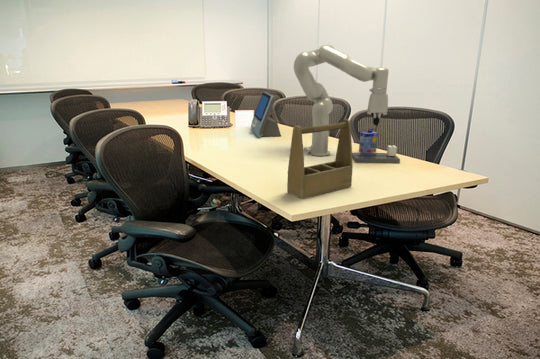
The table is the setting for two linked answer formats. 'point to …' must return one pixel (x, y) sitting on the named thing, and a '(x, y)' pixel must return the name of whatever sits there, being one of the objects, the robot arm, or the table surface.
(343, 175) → the caddy
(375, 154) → the panel
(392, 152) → the fader
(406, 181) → the table surface
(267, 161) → the table surface
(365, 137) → the ink cartridge box
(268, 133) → the touchscreen device
